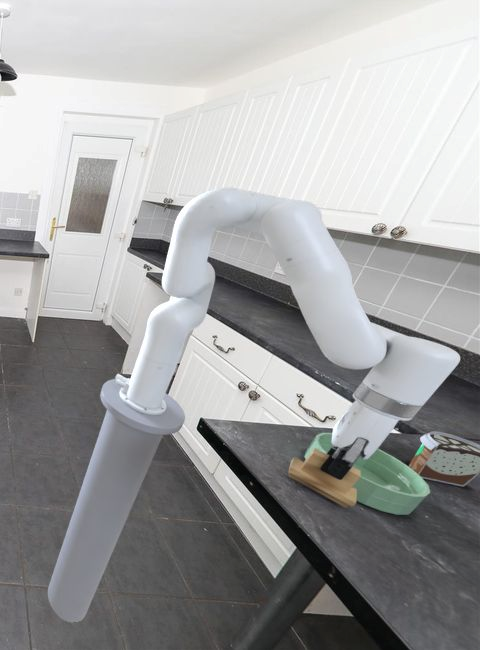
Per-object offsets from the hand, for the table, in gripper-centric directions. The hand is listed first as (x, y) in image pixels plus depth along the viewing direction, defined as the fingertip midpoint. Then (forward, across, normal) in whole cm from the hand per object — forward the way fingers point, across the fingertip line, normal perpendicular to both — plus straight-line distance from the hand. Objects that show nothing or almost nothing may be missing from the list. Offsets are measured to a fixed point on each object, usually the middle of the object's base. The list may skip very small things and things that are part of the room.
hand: (331, 470), depth 69 cm
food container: (+6, -33, +18) cm, 38 cm away
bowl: (+6, -12, +6) cm, 15 cm away
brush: (+5, 0, 0) cm, 5 cm away
